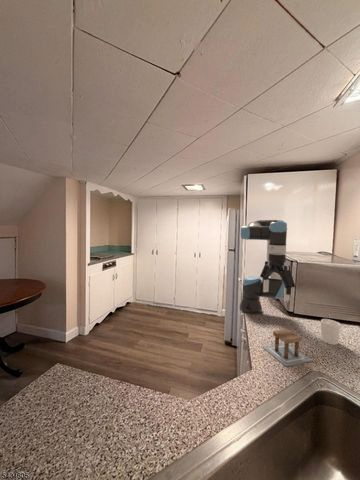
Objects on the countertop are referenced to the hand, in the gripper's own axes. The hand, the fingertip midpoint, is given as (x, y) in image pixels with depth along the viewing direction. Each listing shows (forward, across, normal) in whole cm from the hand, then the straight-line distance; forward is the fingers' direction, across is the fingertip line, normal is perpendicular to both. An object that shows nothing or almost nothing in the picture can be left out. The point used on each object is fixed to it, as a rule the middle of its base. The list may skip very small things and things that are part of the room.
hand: (275, 296), depth 101 cm
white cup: (+24, +8, +28) cm, 38 cm away
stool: (+22, +10, -3) cm, 25 cm away
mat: (+23, +10, -3) cm, 25 cm away
